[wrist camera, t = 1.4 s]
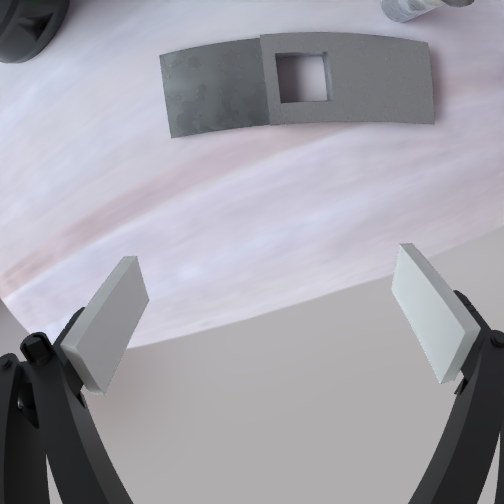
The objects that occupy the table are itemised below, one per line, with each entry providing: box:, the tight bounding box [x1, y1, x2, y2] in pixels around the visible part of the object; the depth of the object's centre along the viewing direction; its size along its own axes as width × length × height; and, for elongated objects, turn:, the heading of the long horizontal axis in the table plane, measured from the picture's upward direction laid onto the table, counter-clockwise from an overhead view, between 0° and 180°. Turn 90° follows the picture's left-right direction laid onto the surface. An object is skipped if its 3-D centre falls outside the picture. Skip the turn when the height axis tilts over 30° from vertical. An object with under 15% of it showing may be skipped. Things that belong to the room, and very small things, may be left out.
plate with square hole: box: [159, 32, 434, 138], centre depth 28 cm, size 10×30×3 cm, turn 97°
